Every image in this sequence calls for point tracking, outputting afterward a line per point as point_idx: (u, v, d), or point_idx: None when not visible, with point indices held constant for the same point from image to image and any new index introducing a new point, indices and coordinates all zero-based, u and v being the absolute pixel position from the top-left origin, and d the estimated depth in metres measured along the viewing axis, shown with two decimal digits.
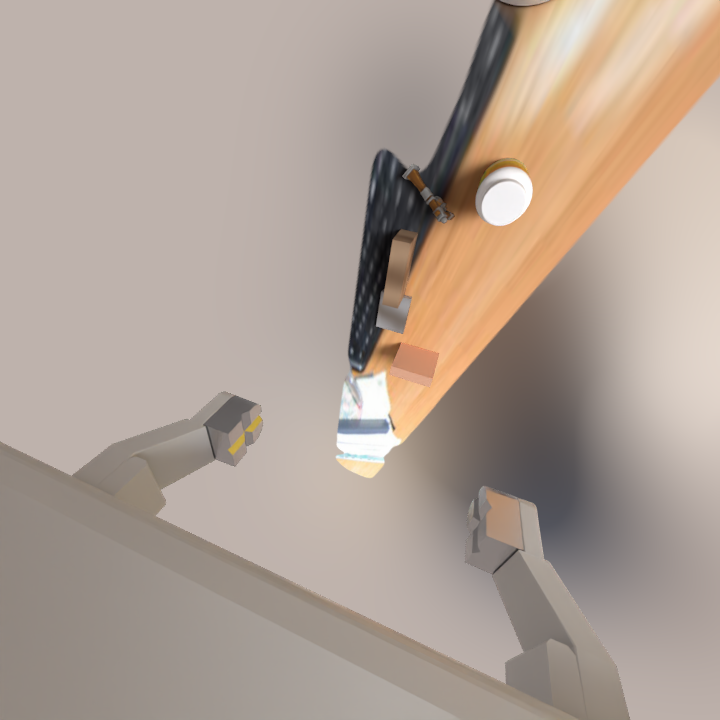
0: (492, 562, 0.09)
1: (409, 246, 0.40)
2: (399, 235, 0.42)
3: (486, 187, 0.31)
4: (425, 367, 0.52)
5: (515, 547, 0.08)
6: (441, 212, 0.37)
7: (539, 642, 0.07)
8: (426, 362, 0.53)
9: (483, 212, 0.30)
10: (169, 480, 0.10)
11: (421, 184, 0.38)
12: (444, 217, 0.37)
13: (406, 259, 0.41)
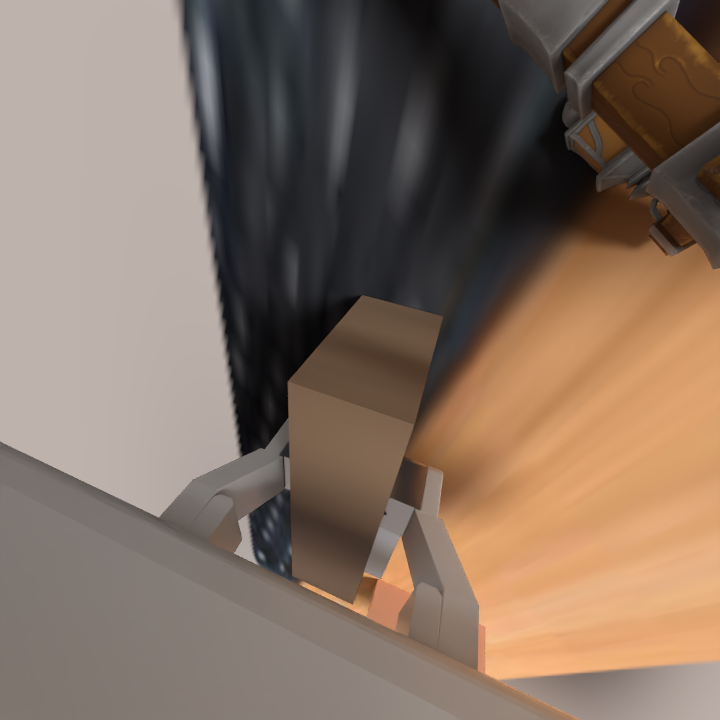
0: (399, 524, 0.09)
1: (403, 436, 0.06)
2: (346, 338, 0.07)
3: None
4: None
5: (412, 507, 0.08)
6: None
7: None
8: None
9: None
10: (243, 513, 0.09)
11: None
12: None
13: (384, 488, 0.07)
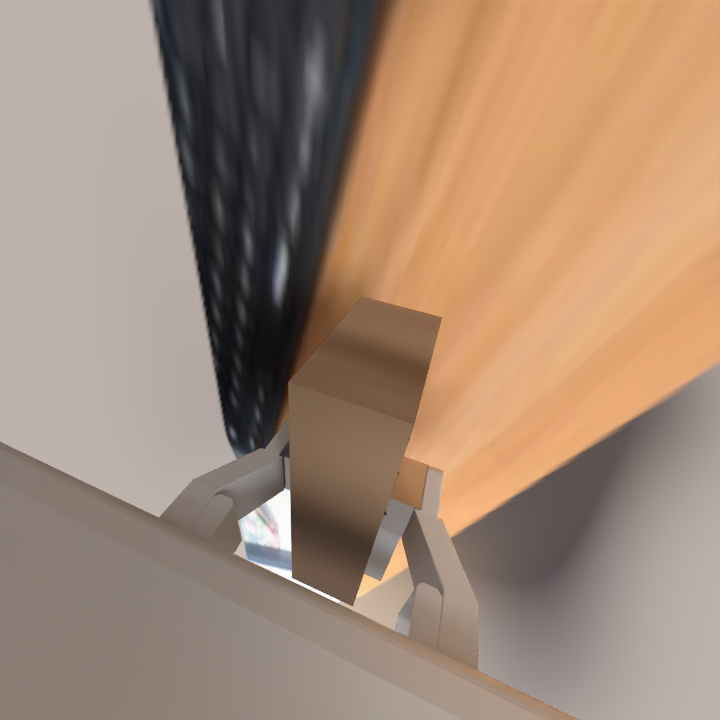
0: (399, 524, 0.09)
1: (403, 435, 0.06)
2: (346, 339, 0.07)
3: None
4: None
5: (412, 507, 0.08)
6: None
7: None
8: None
9: None
10: (243, 513, 0.09)
11: None
12: None
13: (384, 488, 0.07)
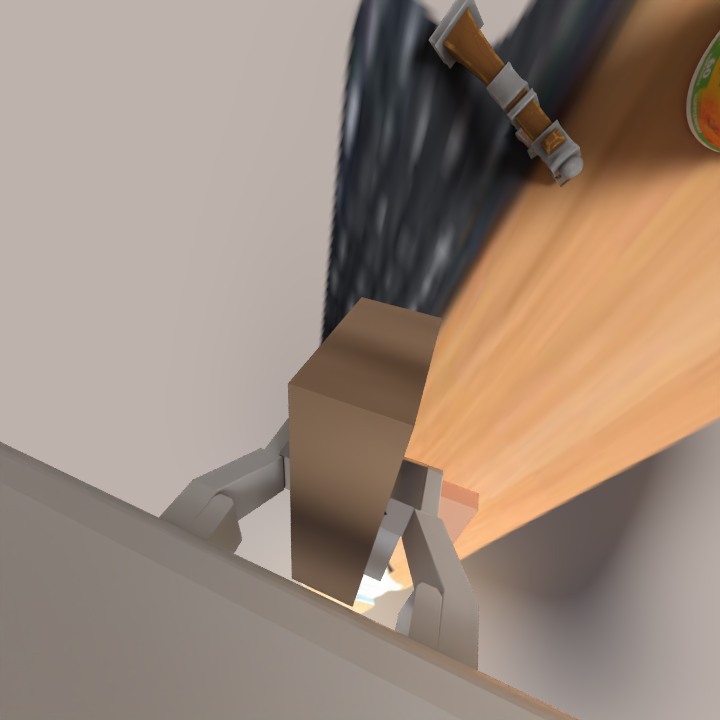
0: (399, 524, 0.09)
1: (403, 437, 0.06)
2: (346, 340, 0.07)
3: None
4: None
5: (412, 507, 0.08)
6: (567, 138, 0.11)
7: None
8: (448, 521, 0.29)
9: None
10: (243, 513, 0.09)
11: (492, 57, 0.12)
12: (576, 157, 0.11)
13: (384, 489, 0.07)
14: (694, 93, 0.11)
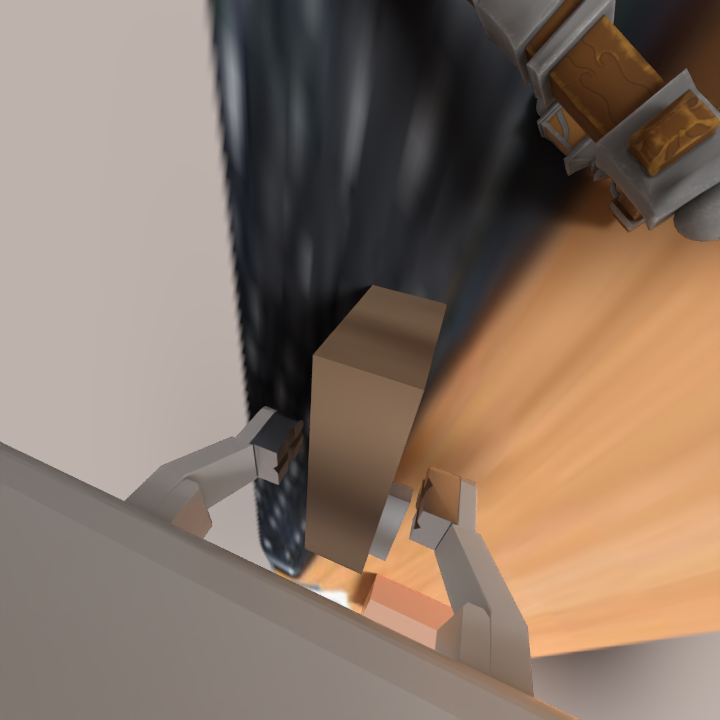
0: (432, 538, 0.09)
1: (414, 401, 0.07)
2: (361, 321, 0.08)
3: None
4: None
5: (449, 521, 0.08)
6: (719, 127, 0.03)
7: None
8: (434, 648, 0.22)
9: None
10: (214, 500, 0.10)
11: None
12: None
13: (395, 453, 0.08)
14: None
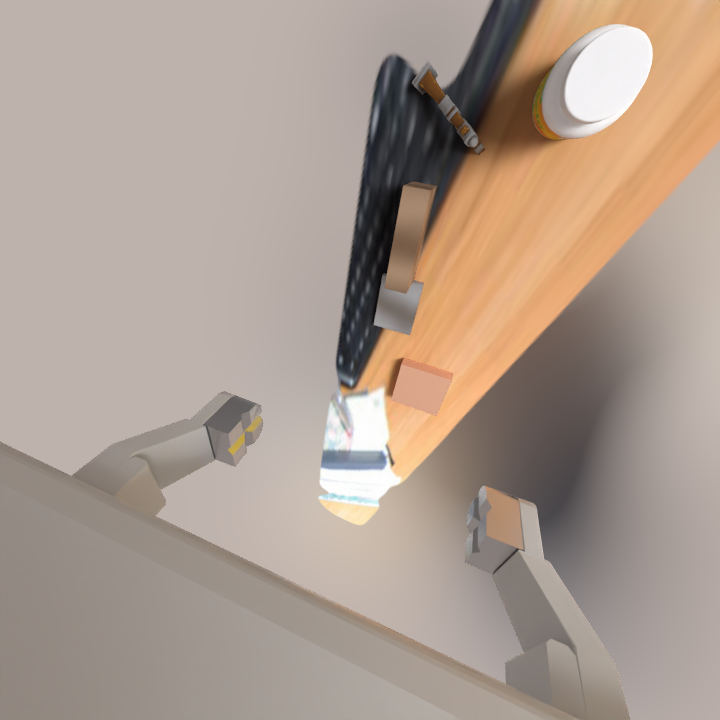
0: (492, 562, 0.09)
1: (427, 195, 0.28)
2: (412, 184, 0.29)
3: (568, 63, 0.19)
4: (430, 401, 0.44)
5: (515, 547, 0.08)
6: (470, 129, 0.24)
7: (539, 642, 0.07)
8: (432, 394, 0.43)
9: (567, 97, 0.18)
10: (169, 480, 0.10)
11: (440, 92, 0.25)
12: (474, 137, 0.25)
13: (422, 216, 0.29)
14: (532, 111, 0.25)
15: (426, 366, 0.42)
